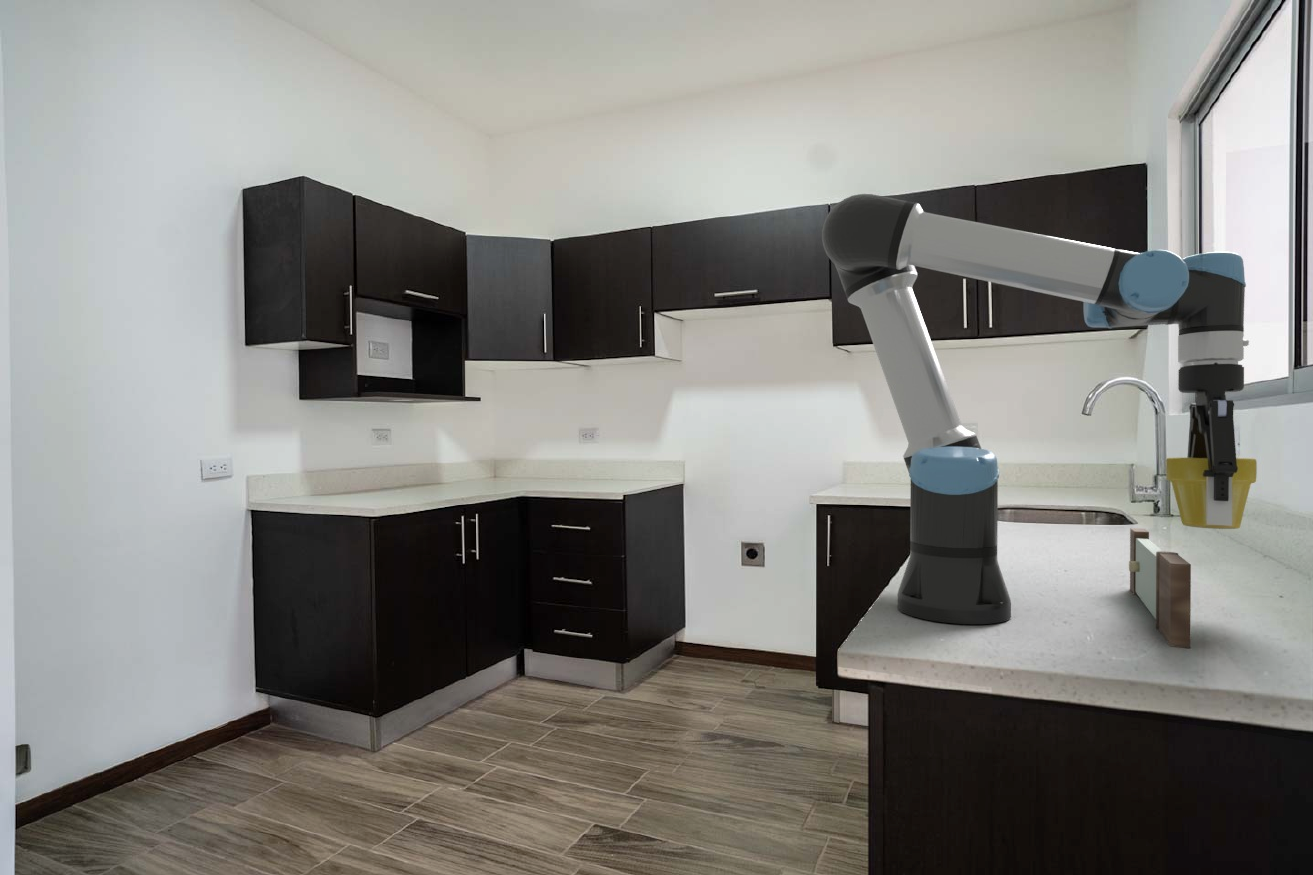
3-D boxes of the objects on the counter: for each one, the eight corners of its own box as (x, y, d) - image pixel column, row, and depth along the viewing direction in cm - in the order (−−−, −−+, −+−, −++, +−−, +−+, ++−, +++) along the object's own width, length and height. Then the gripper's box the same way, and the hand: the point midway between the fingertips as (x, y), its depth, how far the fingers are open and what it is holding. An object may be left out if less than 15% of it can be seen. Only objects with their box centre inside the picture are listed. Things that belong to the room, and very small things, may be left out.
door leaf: (1147, 621, 101) (1147, 557, 101) (1126, 591, 120) (1126, 537, 120) (1172, 623, 100) (1172, 559, 100) (1147, 592, 119) (1147, 538, 119)
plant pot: (1167, 520, 115) (1167, 455, 115) (1254, 525, 109) (1254, 457, 109) (1164, 527, 106) (1164, 458, 106) (1258, 533, 100) (1258, 459, 100)
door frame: (1168, 645, 91) (1168, 563, 91) (1128, 588, 124) (1128, 528, 124) (1192, 648, 90) (1192, 564, 90) (1145, 590, 123) (1146, 528, 123)
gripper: (1267, 356, 95) (1266, 531, 96) (1223, 369, 116) (1222, 513, 116) (1195, 358, 99) (1195, 528, 99) (1164, 371, 119) (1164, 511, 119)
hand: (1209, 520), depth 108 cm, fingers closed on plant pot, 10 cm apart
